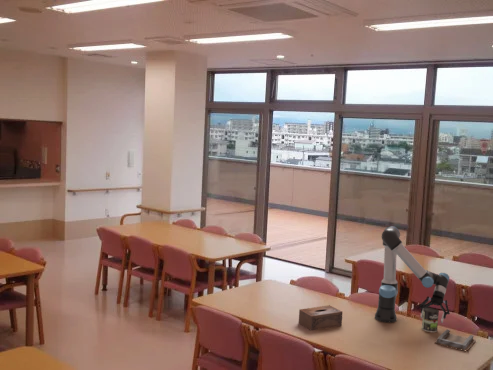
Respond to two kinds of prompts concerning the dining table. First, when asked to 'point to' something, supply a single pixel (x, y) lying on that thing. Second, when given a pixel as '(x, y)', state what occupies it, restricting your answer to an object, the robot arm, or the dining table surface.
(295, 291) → the dining table surface
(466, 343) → the rail dock
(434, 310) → the coffee can
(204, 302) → the dining table surface
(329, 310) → the tissue box cover
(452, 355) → the dining table surface
